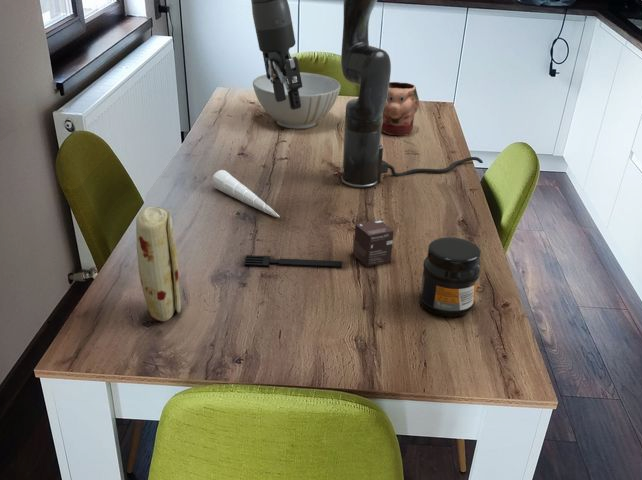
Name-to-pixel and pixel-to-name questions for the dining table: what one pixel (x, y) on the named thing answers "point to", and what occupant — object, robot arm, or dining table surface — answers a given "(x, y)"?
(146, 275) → the food model
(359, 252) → the box
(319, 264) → the fork
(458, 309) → the supplement container
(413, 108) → the decorative planter
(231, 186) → the unicorn horn
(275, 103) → the decorative bowl
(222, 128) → the dining table surface
